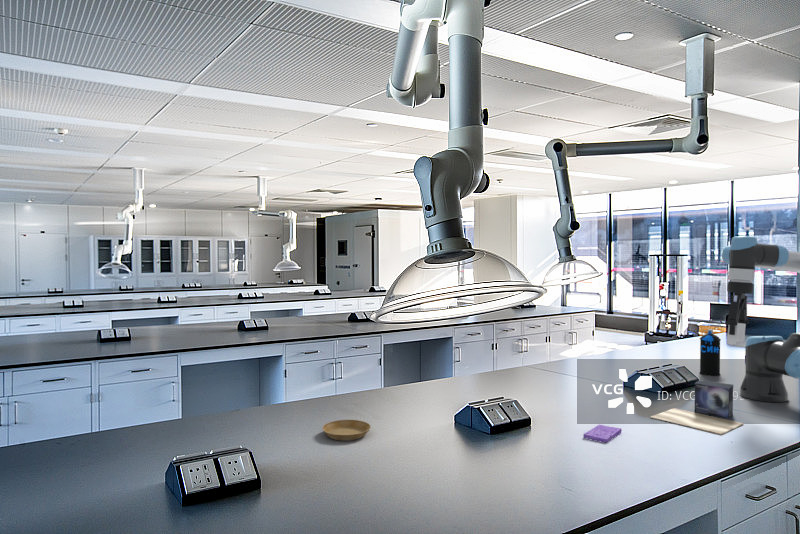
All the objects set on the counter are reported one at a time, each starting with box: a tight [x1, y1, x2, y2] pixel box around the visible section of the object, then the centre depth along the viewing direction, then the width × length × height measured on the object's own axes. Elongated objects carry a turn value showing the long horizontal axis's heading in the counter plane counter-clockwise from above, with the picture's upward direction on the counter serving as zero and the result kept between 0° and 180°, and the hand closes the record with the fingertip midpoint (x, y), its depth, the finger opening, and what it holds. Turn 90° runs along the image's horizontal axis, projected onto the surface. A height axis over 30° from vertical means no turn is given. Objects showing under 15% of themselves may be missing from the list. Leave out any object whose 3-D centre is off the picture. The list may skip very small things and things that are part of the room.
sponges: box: [583, 424, 623, 444], centre depth 167 cm, size 7×13×2 cm, turn 140°
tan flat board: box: [649, 407, 744, 436], centre depth 180 cm, size 16×22×1 cm
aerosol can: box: [699, 328, 722, 377], centre depth 247 cm, size 8×8×20 cm
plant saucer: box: [321, 419, 371, 441], centre depth 170 cm, size 15×15×3 cm
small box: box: [694, 379, 734, 420], centre depth 188 cm, size 11×6×10 cm, turn 47°
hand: (735, 343), depth 191 cm, fingers open, 13 cm apart
